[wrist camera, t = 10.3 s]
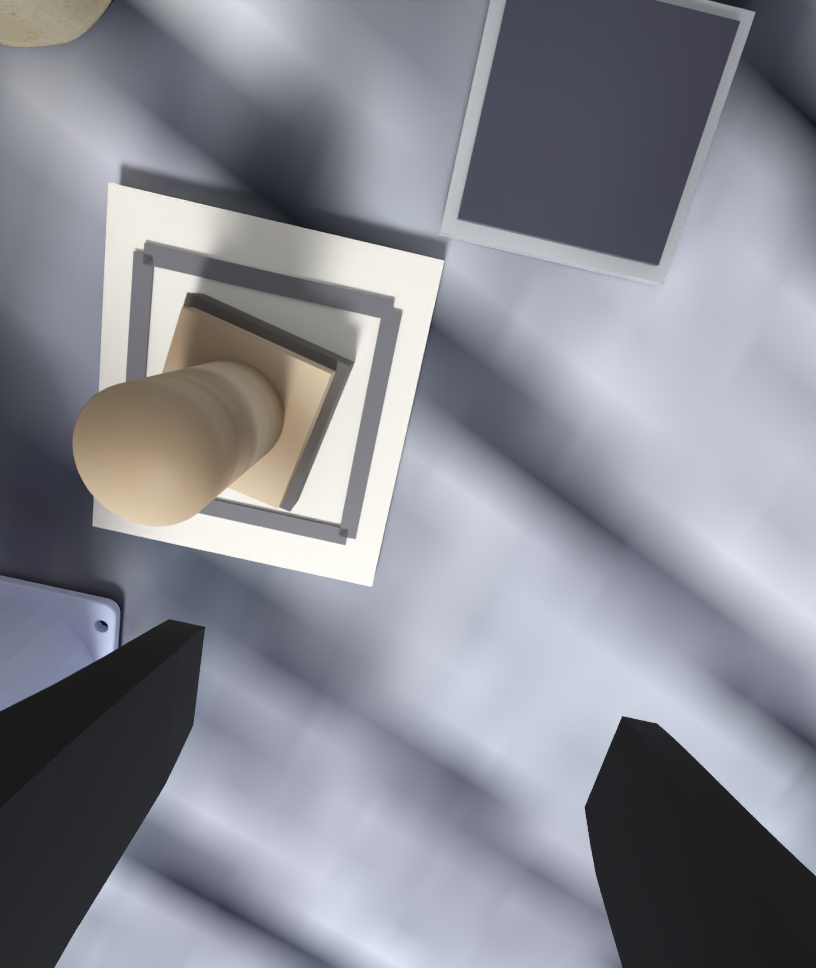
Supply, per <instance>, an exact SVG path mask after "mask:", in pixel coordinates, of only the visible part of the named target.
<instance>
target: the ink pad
mask: <svg viewBox="0 0 816 968" xmlns="http://www.w3.org/2000/svg"><path fill="white" fill-rule="evenodd" d="M755 13H756V12H753V11H749V10H745V9H741V8H737V7H733V6H729V5H725V4H721V3H717V2H713V1H709V0H490V4H489V9H488V13H487V18H486V22H485V27H484V32H483V36H482V41H481V45H480V50H479V55H478V59H477V64H476V68H475V73H474V78H473V82H472V87H471V91H470V96H469V101H468V105H467V110H466V115H465V119H464V124H463V128H462V133H461V138H460V142H459V147H458V151H457V156H456V161H455V165H454V170H453V174H452V179H451V184H450V188H449V193H448V197H447V202H446V207H445V211H444V216H443V220H442V225H441V230H440V236H444V237H448V238H452V239H456V240H461V241H465V242H469V243H473V244H478V245H482V246H486V247H491V248H495V249H499V250H503V251H508V252H512V253H516V254H520V255H525V256H529V257H533V258H538V259H542V260H546V261H550V262H555V263H559V264H563V265H568V266H572V267H576V268H580V269H585V270H589V271H593V272H597V273H602V274H606V275H610V276H615V277H619V278H623V279H627V280H632V281H636V282H640V283H644V284H649V285H657V284H663V283H664V280H665V277H666V274H667V271H668V268H669V265H670V262H671V259H672V256H673V254H674V251H675V248H676V245H677V242H678V239H679V236H680V233H681V230H682V227H683V224H684V221H685V218H686V215H687V212H688V209H689V207H690V204H691V201H692V198H693V195H694V192H695V189H696V186H697V183H698V180H699V177H700V174H701V171H702V168H703V165H704V162H705V160H706V157H707V154H708V151H709V148H710V145H711V142H712V139H713V136H714V133H715V130H716V127H717V124H718V121H719V118H720V115H721V112H722V110H723V107H724V104H725V101H726V98H727V95H728V92H729V89H730V86H731V83H732V80H733V77H734V74H735V71H736V68H737V65H738V63H739V60H740V57H741V54H742V51H743V48H744V45H745V42H746V39H747V36H748V33H749V30H750V27H751V24H752V21H753V18H754V15H755Z"/></svg>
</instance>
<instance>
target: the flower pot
mask: <svg viewBox="0 0 816 968" xmlns="http://www.w3.org/2000/svg"><path fill="white" fill-rule="evenodd" d="M111 1H112V0H0V44H3V45H7V46H12V47H40V46H48V45H56V44H63V43H67V42H70V41H72V40H75V39H76V38H78V37H79V36H81V35H82V34H84V33H85V32H86V31H87V30H88V29H89V28H91V27H92V26H93V25H94V24H95V23H96V22H97V21H98V20H99V18H100V17H101V16H102V14H103V13H104V12H105V10H106V9H107V8H108V6H109V4H110V3H111Z"/></svg>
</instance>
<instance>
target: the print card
mask: <svg viewBox="0 0 816 968" xmlns="http://www.w3.org/2000/svg"><path fill="white" fill-rule="evenodd" d="M443 265H444V260H440V259H435V258H431V257H427V256H422V255H418V254H414V253H410V252H405V251H401V250H397V249H392V248H388V247H384V246H380V245H375V244H371V243H367V242H362V241H358V240H354V239H349V238H345V237H341V236H337V235H332V234H328V233H324V232H319V231H315V230H311V229H306V228H302V227H298V226H294V225H289V224H285V223H281V222H276V221H272V220H268V219H264V218H259V217H255V216H251V215H246V214H242V213H238V212H233V211H229V210H225V209H221V208H216V207H212V206H208V205H203V204H199V203H195V202H191V201H186V200H182V199H178V198H173V197H169V196H165V195H160V194H156V193H152V192H148V191H143V190H139V189H135V188H130V187H126V186H122V185H118V184H113V183H109V182H108V203H107V225H106V246H105V268H104V289H103V311H102V332H101V354H100V375H99V392H100V391H102V390H104V389H106V388H108V387H110V386H113V385H116V384H119V383H124V382H128V381H132V380H136V379H141V378H145V377H149V376H154V375H158V374H162V371H163V368H164V365H165V361H166V358H167V355H168V351H169V348H170V345H171V341H172V338H173V335H174V331H175V328H176V325H177V321H178V318H179V315H180V312H181V308H182V307H183V304H184V301H185V298H186V294H187V292H189V293H202V294H206V295H208V296H210V297H212V298H215V299H217V300H219V301H221V302H223V303H226V304H228V305H230V306H232V307H234V308H237V309H239V310H241V311H243V312H245V313H248V314H250V315H252V316H254V317H256V318H258V319H261V320H263V321H265V322H267V323H269V324H272V325H274V326H276V327H278V328H280V329H283V330H285V331H287V332H289V333H291V334H294V335H296V336H298V337H300V338H302V339H305V340H307V341H309V342H311V343H313V344H316V345H318V346H320V347H322V348H324V349H327V350H329V351H331V352H333V353H335V354H338V355H340V356H342V357H344V358H346V359H349V360H351V361H353V362H355V363H354V366H353V368H352V371H351V373H350V375H349V378H348V380H347V383H346V385H345V388H344V390H343V393H342V395H341V398H340V400H339V402H338V405H337V407H336V410H335V412H334V415H333V417H332V420H331V422H330V424H329V427H328V429H327V432H326V434H325V437H324V439H323V442H322V444H321V447H320V449H319V451H318V454H317V456H316V459H315V461H314V464H313V466H312V469H311V471H310V474H309V476H308V478H307V481H306V483H305V486H304V488H303V491H302V493H301V496H300V498H299V500H298V502H297V503H296V504H295V506H294V507H293V509H292V510H291V511H290V512H289V511H287V510H284V509H282V508H280V507H279V508H278V509H277V508H275V507H272V506H270V505H268V504H265V503H263V502H261V501H258V500H256V499H254V498H251V497H249V496H247V495H244V494H242V493H240V492H237V491H235V490H233V489H230V488H226V489H225V490H224V491H223V492H222V493H221V494H219V495H218V496H217V497H216V498H215V499H214V500H212V501H211V502H210V503H209V504H208V505H207V506H206V507H204V508H203V509H202V510H201V511H200V512H199V513H197V514H196V515H195V516H193V517H191V518H190V519H188V520H186V521H183V522H181V523H178V524H174V525H169V526H145V525H141V524H136V523H133V522H131V521H128V520H125V519H123V518H121V517H119V516H117V515H116V514H114V513H113V512H111V511H109V510H108V509H107V508H106V507H104V506H103V505H102V504H101V503H100V502H99V501H98V500H97V499H96V498H95V497H94V504H93V526H94V527H99V528H104V529H108V530H113V531H117V532H122V533H127V534H131V535H136V536H140V537H145V538H150V539H154V540H159V541H163V542H168V543H173V544H177V545H182V546H186V547H191V548H196V549H200V550H205V551H209V552H214V553H219V554H223V555H228V556H232V557H237V558H242V559H246V560H251V561H255V562H260V563H265V564H269V565H274V566H278V567H283V568H288V569H292V570H297V571H301V572H306V573H311V574H315V575H320V576H324V577H329V578H334V579H338V580H343V581H347V582H352V583H357V584H361V585H366V586H370V587H372V583H373V579H374V574H375V570H376V565H377V561H378V557H379V552H380V548H381V543H382V539H383V534H384V530H385V525H386V521H387V516H388V512H389V507H390V503H391V498H392V494H393V489H394V485H395V480H396V476H397V471H398V467H399V462H400V458H401V453H402V449H403V444H404V440H405V435H406V431H407V426H408V422H409V417H410V413H411V408H412V404H413V399H414V395H415V390H416V386H417V381H418V377H419V372H420V368H421V363H422V359H423V354H424V350H425V345H426V341H427V336H428V332H429V327H430V323H431V318H432V314H433V309H434V305H435V301H436V296H437V292H438V287H439V283H440V278H441V274H442V269H443Z"/></svg>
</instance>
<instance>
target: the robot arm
mask: <svg viewBox="0 0 816 968" xmlns="http://www.w3.org/2000/svg"><path fill="white" fill-rule="evenodd" d="M101 620H102V621H104V622H106V623H107V624H108V627H106V626H104V625H103V624H102V623H101ZM119 626H120V608H119V606H118V605H117V603H115V602H114V601H113V600H111V599H108V598H104V597H99V596H94V595H90V594H85V593H80V592H76V591H71V590H66V589H62V588H57V587H52V586H48V585H43V584H38V583H34V582H29V581H24V580H20V579H15V578H10V577H6V576H1V575H0V968H54V967H55V966H56V964H57V962H58V960H59V959H60V957H61V955H62V953H63V952H64V950H65V948H66V946H67V945H68V943H69V941H70V939H71V938H72V936H73V934H74V933H75V931H76V929H77V928H78V926H79V924H80V923H81V921H82V920H83V918H84V916H85V915H86V913H87V911H88V910H89V908H90V907H91V905H92V903H93V902H94V900H95V898H96V897H97V895H98V894H99V892H100V890H101V889H102V887H103V885H104V884H105V882H106V881H107V879H108V877H109V876H110V874H111V872H112V871H113V869H114V868H115V866H116V864H117V863H118V861H119V860H120V858H121V856H122V855H123V853H124V851H125V850H126V848H127V847H128V845H129V843H130V842H131V840H132V838H133V837H134V835H135V834H136V832H137V830H138V829H139V827H140V825H141V824H142V822H143V820H144V819H145V817H146V815H147V814H148V812H149V811H150V809H151V807H152V806H153V804H154V802H155V801H156V799H157V797H158V796H159V794H160V792H161V791H162V789H163V787H164V786H165V784H166V782H167V780H168V778H169V776H170V773H171V771H172V769H173V767H174V765H175V763H176V761H177V759H178V757H179V755H180V753H181V750H182V748H183V746H184V744H185V742H186V740H187V737H188V735H189V733H190V731H191V729H192V727H193V722H194V714H195V706H196V697H197V689H198V681H199V673H200V664H201V656H202V648H203V640H204V632H205V627H203V626H198V625H194V624H189V623H184V622H180V621H175V620H170V619H169V620H167V621H165V622H163V623H161V624H160V625H158V626H156V627H154V628H152V629H151V630H149V631H147V632H146V633H144V634H142V635H140V636H139V637H137V638H135V639H133V640H132V641H130V642H128V643H126V644H125V645H123V646H121V647H119V648H118V641H119ZM585 813H586V819H587V826H588V832H589V839H590V845H591V850H592V856H593V861H594V867H595V872H596V876H597V880H598V884H599V887H600V891H601V895H602V898H603V902H604V905H605V909H606V912H607V916H608V919H609V923H610V926H611V930H612V933H613V936H614V940H615V943H616V947H617V950H618V953H619V957H620V960H621V964H622V967H623V968H816V876H815V875H814V874H813V873H812V872H811V871H810V870H809V869H807V868H806V867H805V866H804V865H803V864H802V863H801V862H800V861H799V860H798V859H797V858H796V857H795V856H794V855H793V854H792V853H791V852H789V851H788V850H787V849H786V848H785V847H784V846H783V845H782V844H781V843H780V842H779V841H778V840H777V839H776V838H775V837H774V836H773V835H772V834H771V833H770V832H769V831H768V830H767V829H766V828H765V827H763V826H762V825H761V824H760V823H759V822H758V821H757V820H756V819H755V818H754V817H753V816H752V815H751V814H750V813H749V812H748V811H747V810H746V809H745V808H744V807H743V806H742V805H741V804H740V803H739V802H738V801H737V800H736V799H735V798H734V797H733V796H732V795H731V794H730V793H729V792H728V791H727V790H726V789H725V788H724V787H723V786H722V785H721V784H720V783H719V782H718V781H717V780H716V779H715V778H714V777H713V776H712V775H711V774H710V773H709V772H708V771H707V770H706V769H705V768H704V767H703V766H702V765H701V764H700V763H699V762H698V761H697V760H696V759H695V758H694V757H693V756H692V755H691V754H690V753H688V752H687V751H686V750H685V749H684V748H683V747H682V746H681V745H680V744H679V743H678V742H677V741H676V740H675V739H674V738H673V737H672V736H671V735H669V734H668V733H667V732H666V731H665V730H664V729H663V728H661V727H660V726H659V725H658V724H656V723H652V722H647V721H642V720H638V719H633V718H628V717H624V716H622V718H621V720H620V723H619V725H618V728H617V730H616V733H615V735H614V737H613V740H612V742H611V745H610V747H609V750H608V752H607V754H606V757H605V759H604V762H603V764H602V767H601V769H600V771H599V774H598V776H597V779H596V781H595V783H594V786H593V788H592V791H591V793H590V796H589V798H588V800H587V803H586V805H585Z"/></svg>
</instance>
